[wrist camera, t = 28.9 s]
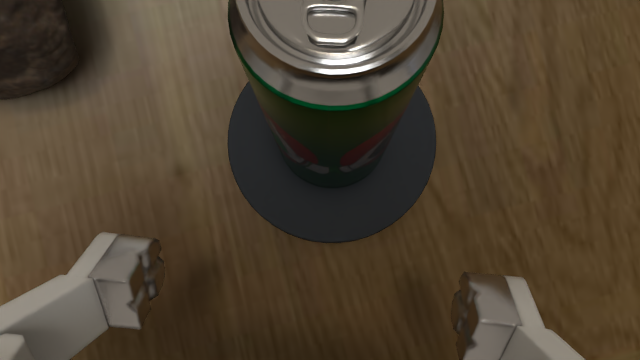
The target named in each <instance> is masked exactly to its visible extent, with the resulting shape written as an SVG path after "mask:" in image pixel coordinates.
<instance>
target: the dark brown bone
mask: <svg viewBox="0 0 640 360" xmlns="http://www.w3.org/2000/svg"><path fill="white" fill-rule="evenodd" d="M78 62H79V56H78V54H77V51H76V49H75V44H74V42H73V39H72V34H71V31H70V29H69V25H68V21H67V16H66V13H65V9H64V6H63V3H62V0H0V99H10V98H16V97H20V96H24V95H28V94H30V93H33V92H35V91H39V90H42V89H46V88H49V87H50V86H52V85H54V84H56V83H57V82H59V81H60V80H61V79H63V78H64V77H65V76H67V75H68V74H69V73H70V72H71V71H72V70H73V69H74V68H75V67H76V66H77V64H78Z"/></svg>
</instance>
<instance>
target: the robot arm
mask: <svg viewBox="0 0 640 360" xmlns="http://www.w3.org/2000/svg"><path fill="white" fill-rule="evenodd" d="M160 251H161V245H160V241H159V240H158V239H155V238H148V237H140V236H132V235H125V234H114V233H107V232H102V233H100V234H98V235H97V236H96V237H95V239H94V240H93V241H92V242H91V244H90V245H89V246H88V248H87V249H86V250H85V251H84V253H83V254H82V255H81V257H80V258H79V259H78V260H77V262H76V263H75V264H74V266H73V267H72V268H71V270H70V271H69V272H68V273H67V275H59V276H57V277H55V278H53V279H51V280H50V281H48V282H46V283H44V284H42V285H40V286H38V287H36V288H34V289H32V290H30V291H29V292H27V293H25V294H23V295H21V296H19V297H17V298H15V299H13V300H11V301H10V302H8V303H6V304H4V305H2V306H0V360H70V359H71V358H72V357H73V356H75V355H76V354H77V353H78V352H80V351H81V350H82V349H83V348H85V347H86V346H87V345H88V344H90V343H91V342H92V341H94V340H95V339H96V338H97V337H99V336H100V335H101V334H102V333H104V332H105V331H106V330H107V329H109V327H119V328H131V329H141V328H142V326H143V324H144V322H145V320H146V318H147V316H148V314H149V312H150V310H151V305H150V300H152V299H153V298H155V297H156V296H158V295H159V292H160V290H161V288H162V286H163V282H164V278H165V265H164V261H163V260H162V259H161V258H160V257H159V256H158V255H159V253H160ZM459 285H460V290H459V291H458V292H456V293H455V294H454V298H453V301H452V308H451V319H452V326H453V329H454V330H455V331H456V333H457V334H458V335H459V337H458V339H457V342H456V347H457V351H458V356H459V360H585V359H584V358H583V357H582V356H581V355H580V354H579V353H577V352H576V351H575V350H574V349H573V348H572V347H571V346H569V345H568V344H567V343H566V342H565V341H564V340H563V339H562V338H560V337H559V336H558V335H557V334H556V333H555V332H554V331H552V330H550V329H545V326H544V324H543V321H542V319H541V316H540V314H539V312H538V309H537V307H536V304H535V302H534V299H533V297H532V295H531V292H530V290H529V287H528V285H527V282H526V280H525V279H524V278H523V277H514V276H504V275H503V276H501V275H493V274H483V273H473V272H463V274H462V275H461V277H460V280H459Z"/></svg>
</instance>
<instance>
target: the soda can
mask: <svg viewBox="0 0 640 360" xmlns="http://www.w3.org/2000/svg"><path fill="white" fill-rule="evenodd" d="M443 18H444V7H443V0H229V2H228V23H229V30H230V35H231V38H232V41H233V45H234V48H235V50H236V53H237V55H238V57H239V59H240V62H241V64H242V66H243V69H244V71H245V73H246V75H247V78H248V80H249V82H250V84H251V87H252V89H253V91H254V94H255V96H256V98H257V100H258V103H259V105H260V107H261V110H262V112H263V114H264V116H265V119H266V121H267V123H268V126H269V128H270V130H271V132H272V135H273V137H274V139H275V141H276V144H277V146H278V148H279V151H280V153H281V155H282V157H283V159H284V161H285V163H286V164H287V166H288V167H289V168H290V170H291V171H292V172H293V173H294V174H295V175H296V176H298V177H299V178H301V179H302V180H303V181H305V182H307V183H309V184H312V185H315V186H318V187H323V188H342V187H347V186H350V185H353V184H355V183H357V182H359V181H361V180H363V179H364V178H365V177H367V176H368V175H369V174H370V173H371V172H372V171H373V170H374V169H375V168H376V166H377V165H378V164H379V162H380V160H381V158H382V156H383V154H384V152H385V150H386V148H387V146H388V144H389V142H390V140H391V138H392V136H393V134H394V132H395V130H396V128H397V126H398V124H399V122H400V120H401V118H402V116H403V114H404V112H405V110H406V108H407V106H408V104H409V102H410V100H411V98H412V96H413V94H414V92H415V90H416V88H417V86H418V84H419V82H420V80H421V78H422V76H423V74H424V72H425V70H426V68H427V66H428V64H429V62H430V60H431V58H432V56H433V54H434V52H435V50H436V48H437V46H438V43H439V39H440V36H441V32H442V28H443Z"/></svg>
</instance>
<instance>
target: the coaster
mask: <svg viewBox="0 0 640 360" xmlns="http://www.w3.org/2000/svg"><path fill="white" fill-rule="evenodd" d="M435 151H436V131H435V125H434V120H433V116H432V113H431V110H430V107H429V104H428V102H427V100H426V98H425V96H424V94H423V92H422V91H421V89H420V88H419V86H417V88H416V90H415V92H414V94H413V96H412V98H411V100H410V102H409V104H408V106H407V108H406V110H405V112H404V114H403V116H402V118H401V120H400V122H399V124H398V126H397V128H396V130H395V132H394V134H393V136H392V138H391V140H390V142H389V144H388V146H387V148H386V150H385V152H384V154H383V156H382V158H381V160H380V162H379V164H378V165H377V166H376V168H375V169H374V170H373V171H372V172H371V173H370V174H369V175H368V176H367V177H365V178H364V179H363V180H361V181H359V182H357V183H355V184H353V185H350V186H347V187H342V188H323V187H318V186H315V185H312V184H309V183H307V182H305V181H303V180H302V179H301V178H299V177H298V176H296V175H295V174H294V173H293V172H292V171H291V170H290V168H289V167H288V166H287V164H286V163H285V161H284V159H283V157H282V155H281V153H280V151H279V148H278V146H277V144H276V141H275V139H274V137H273V135H272V132H271V130H270V128H269V126H268V123H267V121H266V119H265V116H264V114H263V112H262V110H261V107H260V105H259V103H258V100H257V98H256V96H255V94H254V91H253V89H252V87H251V84H250V82H248V83H247V84H246V86H245V88H244V89H243V91H242V92H241V94H240V96H239V98H238V100H237V102H236V104H235V106H234V109H233V112H232V116H231V119H230V124H229V130H228V153H229V160H230V165H231V169H232V172H233V175H234V177H235V180H236V182H237V185H238V186H239V188H240V190H241V192H242V194H243V195H244V197H245V198H246V199H247V201H248V202H249V203H250V205H251V206H252V207H253V208H254V209H255V210H256V211H257V212H258V213H259V214H260V215H261V216H262V217H263V218H264V219H266V220H267V221H268V222H270V223H271V224H272V225H274V226H275V227H277V228H279V229H281V230H282V231H284V232H286V233H288V234H291V235H293V236H296V237H298V238H302V239H306V240H309V241H315V242H323V243H341V242H348V241H354V240H358V239H362V238H365V237H368V236H370V235H373V234H375V233H377V232H380V231H381V230H383V229H385V228H386V227H388V226H390V225H391V224H393V223H394V222H395V221H397V220H398V219H399V218H400V217H402V216H403V215H404V214H405V213H406V212H407V211H408V210H409V209H410V208H411V207H412V206H413V204H414V203H415V202H416V200H417V199H418V198H419V196H420V195H421V193H422V191H423V190H424V188H425V186H426V184H427V182H428V179H429V177H430V174H431V171H432V168H433V164H434V159H435Z"/></svg>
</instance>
